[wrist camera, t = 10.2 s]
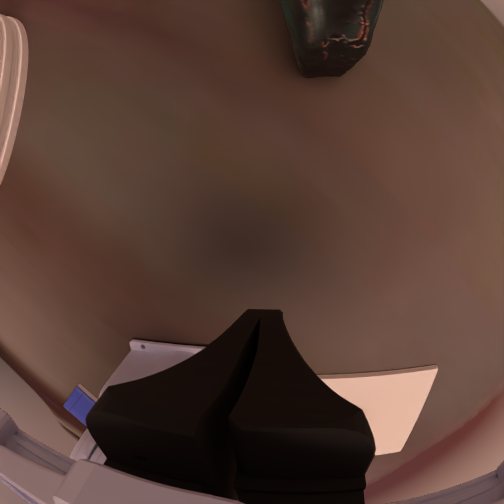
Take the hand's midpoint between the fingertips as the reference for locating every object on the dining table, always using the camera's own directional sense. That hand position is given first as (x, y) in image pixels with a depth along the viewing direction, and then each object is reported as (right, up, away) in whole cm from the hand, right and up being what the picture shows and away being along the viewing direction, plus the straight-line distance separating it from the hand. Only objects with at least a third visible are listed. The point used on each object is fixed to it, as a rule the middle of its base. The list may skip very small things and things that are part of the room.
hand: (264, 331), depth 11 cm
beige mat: (+8, -14, +14) cm, 22 cm away
